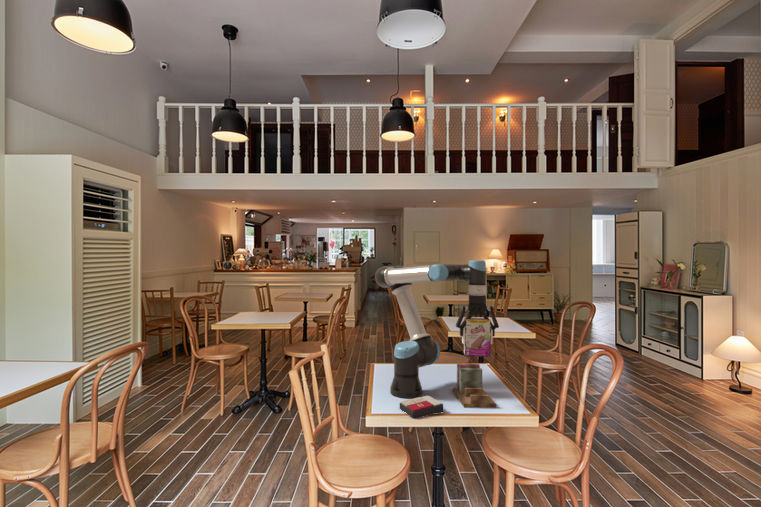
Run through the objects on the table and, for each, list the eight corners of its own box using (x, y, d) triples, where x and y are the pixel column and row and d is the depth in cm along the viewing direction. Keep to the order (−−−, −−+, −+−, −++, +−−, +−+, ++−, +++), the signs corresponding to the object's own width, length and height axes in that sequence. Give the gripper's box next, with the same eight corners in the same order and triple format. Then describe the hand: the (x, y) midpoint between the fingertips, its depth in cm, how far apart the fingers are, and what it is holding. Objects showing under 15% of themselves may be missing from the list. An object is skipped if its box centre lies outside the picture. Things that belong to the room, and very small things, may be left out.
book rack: (464, 407, 157) (464, 374, 157) (452, 390, 178) (452, 361, 178) (496, 407, 157) (496, 374, 158) (481, 390, 178) (481, 361, 179)
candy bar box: (465, 356, 161) (465, 318, 161) (463, 353, 166) (463, 317, 166) (491, 357, 159) (491, 319, 160) (488, 354, 164) (488, 317, 165)
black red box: (398, 401, 154) (428, 393, 161) (399, 411, 154) (428, 403, 161) (412, 410, 145) (443, 402, 151) (413, 421, 145) (443, 412, 151)
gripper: (452, 295, 159) (452, 345, 159) (506, 295, 160) (506, 345, 159) (448, 293, 167) (448, 341, 166) (500, 294, 168) (500, 342, 167)
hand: (477, 343), depth 163 cm, fingers closed on candy bar box, 11 cm apart
